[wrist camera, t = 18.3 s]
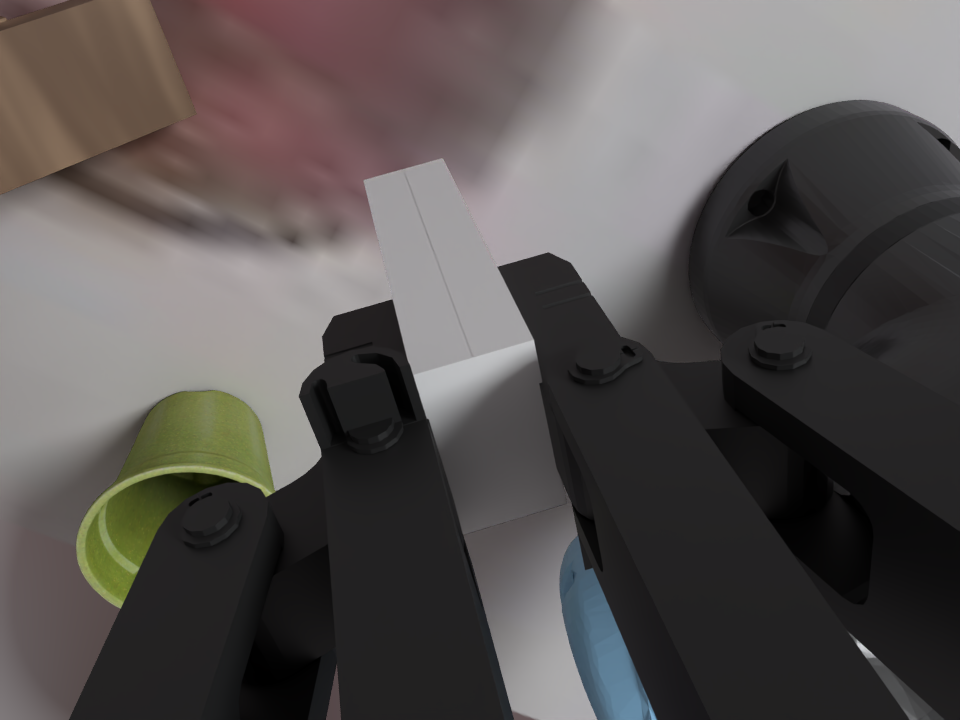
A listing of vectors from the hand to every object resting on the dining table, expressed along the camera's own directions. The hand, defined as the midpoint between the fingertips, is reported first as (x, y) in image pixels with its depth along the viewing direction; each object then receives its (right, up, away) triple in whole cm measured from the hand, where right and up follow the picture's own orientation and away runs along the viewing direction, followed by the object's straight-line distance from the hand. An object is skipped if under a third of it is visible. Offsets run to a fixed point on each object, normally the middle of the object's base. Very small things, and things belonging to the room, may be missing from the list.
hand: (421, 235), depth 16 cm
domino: (-12, +10, +17) cm, 23 cm away
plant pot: (-14, -6, +29) cm, 32 cm away
